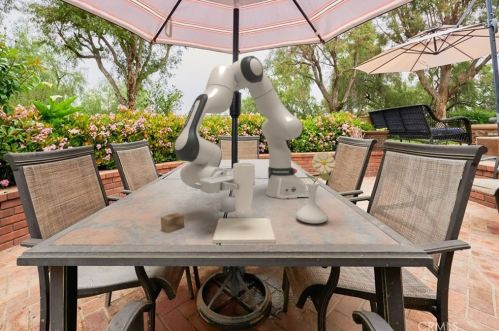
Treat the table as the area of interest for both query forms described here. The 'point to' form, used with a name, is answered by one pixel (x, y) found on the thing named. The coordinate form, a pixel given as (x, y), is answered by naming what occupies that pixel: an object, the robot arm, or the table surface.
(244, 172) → the drinking glass
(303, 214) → the flower in vase
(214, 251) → the table surface
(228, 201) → the grey plastic tub
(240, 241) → the cream tile
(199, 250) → the table surface
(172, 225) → the walnut block
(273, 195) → the robot arm
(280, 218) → the table surface
